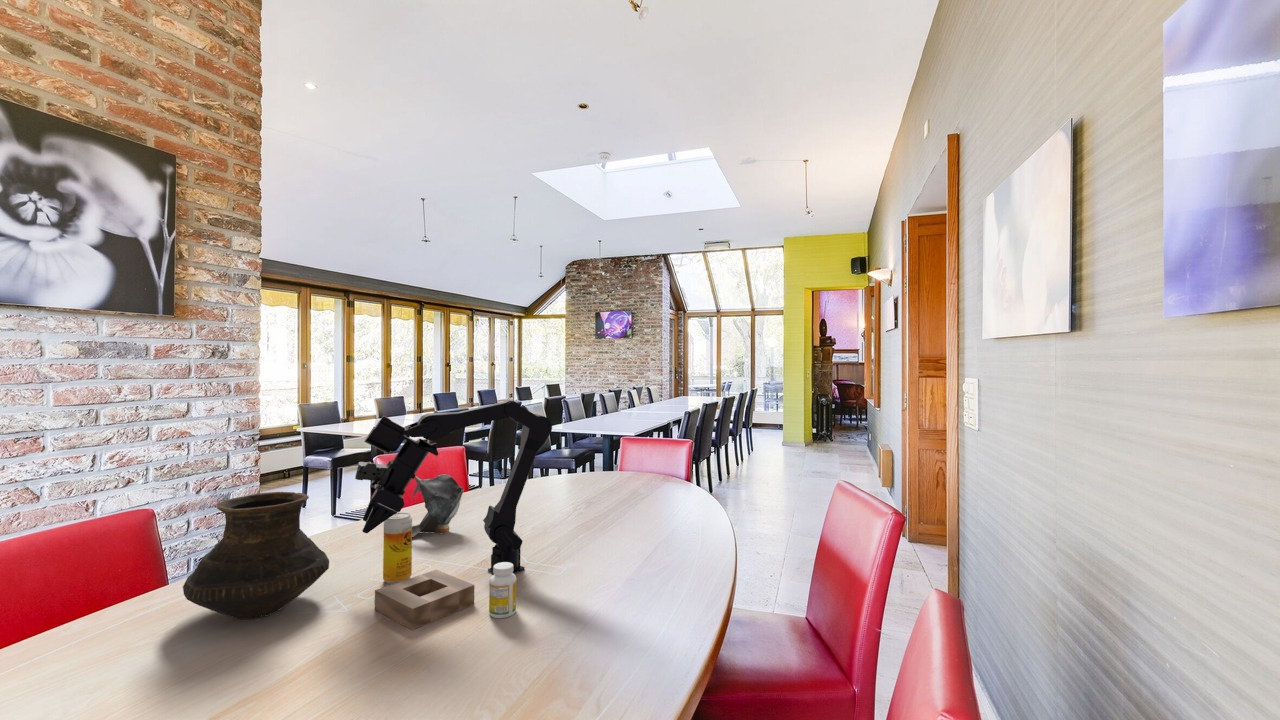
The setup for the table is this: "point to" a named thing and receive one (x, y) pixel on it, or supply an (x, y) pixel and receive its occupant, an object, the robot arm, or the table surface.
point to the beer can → (397, 548)
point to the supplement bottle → (502, 591)
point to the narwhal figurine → (438, 503)
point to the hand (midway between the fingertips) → (364, 526)
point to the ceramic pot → (257, 558)
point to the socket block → (424, 598)
